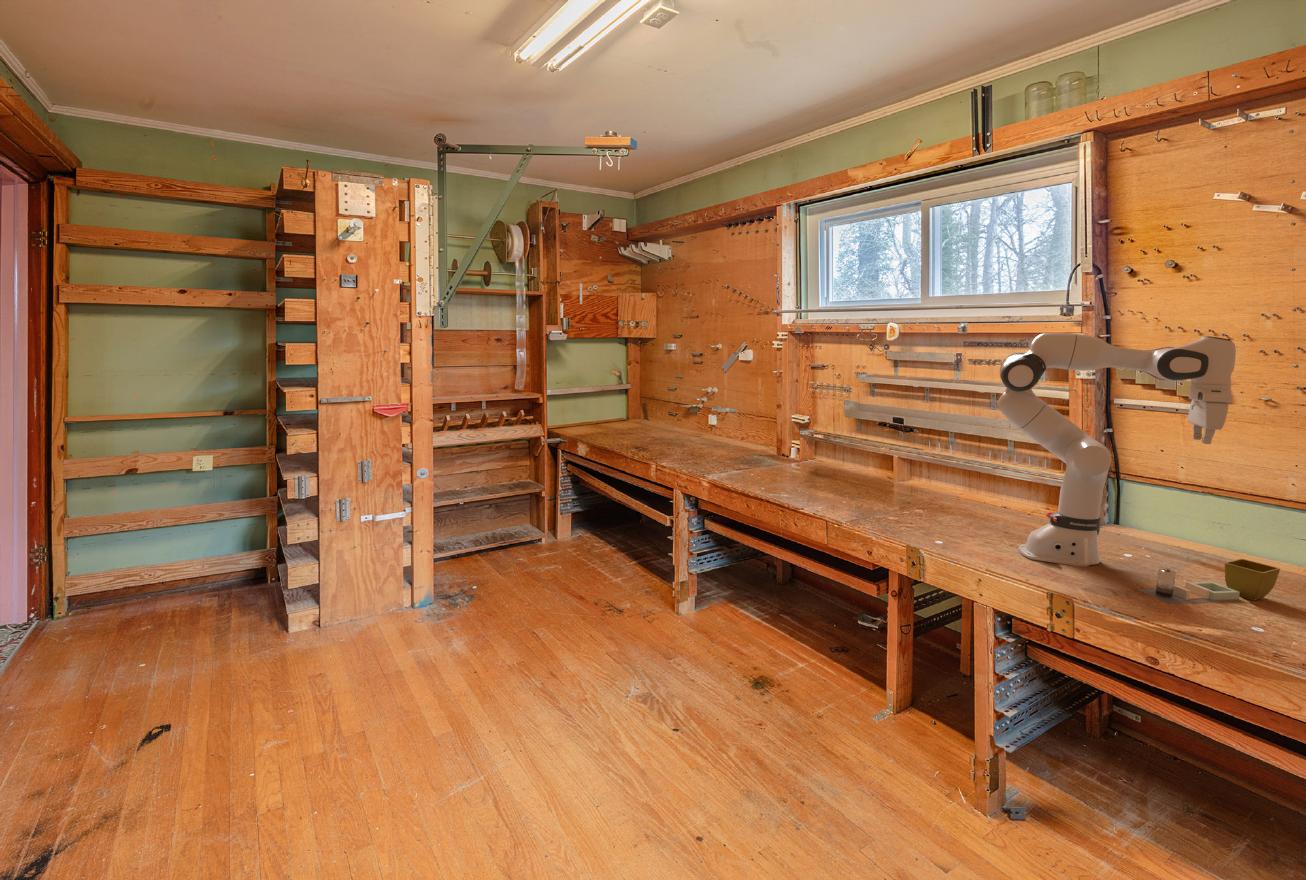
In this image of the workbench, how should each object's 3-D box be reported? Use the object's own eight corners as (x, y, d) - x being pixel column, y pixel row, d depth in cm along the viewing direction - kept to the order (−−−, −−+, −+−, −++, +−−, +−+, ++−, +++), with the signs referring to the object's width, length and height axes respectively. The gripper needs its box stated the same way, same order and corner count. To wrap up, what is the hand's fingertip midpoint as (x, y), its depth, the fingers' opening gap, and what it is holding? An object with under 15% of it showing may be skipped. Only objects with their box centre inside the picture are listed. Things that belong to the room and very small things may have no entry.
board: (1168, 607, 169) (1168, 603, 169) (1135, 592, 179) (1136, 589, 179) (1242, 604, 172) (1243, 601, 171) (1206, 590, 181) (1207, 586, 181)
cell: (1158, 597, 173) (1162, 570, 172) (1152, 592, 176) (1156, 566, 175) (1174, 599, 172) (1178, 572, 171) (1168, 594, 175) (1172, 568, 174)
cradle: (1185, 599, 172) (1187, 591, 171) (1165, 591, 178) (1166, 582, 177) (1208, 599, 172) (1210, 590, 172) (1187, 590, 178) (1189, 581, 178)
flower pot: (1258, 605, 171) (1263, 572, 170) (1219, 593, 179) (1223, 562, 178) (1275, 600, 175) (1281, 568, 174) (1236, 588, 183) (1241, 558, 182)
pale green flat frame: (1213, 600, 172) (1214, 593, 171) (1186, 589, 179) (1187, 582, 179) (1238, 599, 173) (1239, 592, 172) (1211, 588, 180) (1212, 581, 180)
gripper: (1185, 391, 195) (1178, 436, 197) (1205, 395, 177) (1197, 445, 179) (1212, 392, 192) (1204, 438, 195) (1235, 397, 174) (1226, 447, 177)
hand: (1201, 441), depth 187 cm, fingers open, 8 cm apart
